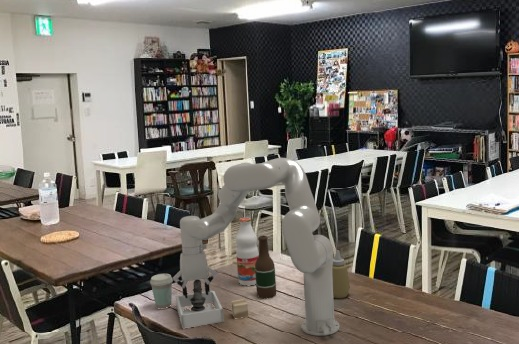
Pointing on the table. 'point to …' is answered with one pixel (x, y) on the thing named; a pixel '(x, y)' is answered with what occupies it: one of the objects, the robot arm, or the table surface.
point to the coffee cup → (162, 290)
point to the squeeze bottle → (340, 277)
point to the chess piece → (197, 297)
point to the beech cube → (239, 308)
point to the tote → (200, 317)
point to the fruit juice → (246, 252)
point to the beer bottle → (265, 271)
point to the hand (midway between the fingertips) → (196, 295)
